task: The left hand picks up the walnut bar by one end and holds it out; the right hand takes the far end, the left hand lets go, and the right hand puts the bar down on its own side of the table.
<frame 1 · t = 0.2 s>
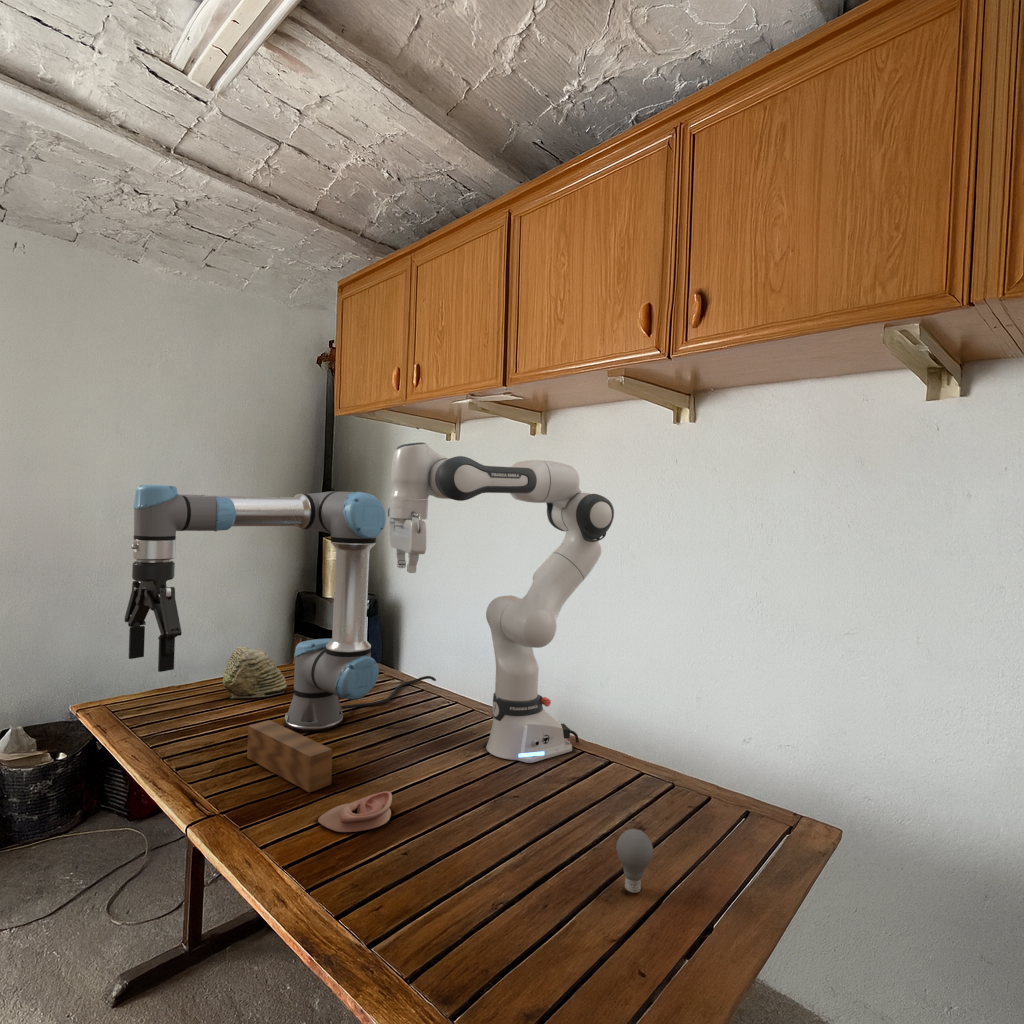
left hand: (150, 664, 130), 28 cm above the table, tool pointing down, fingers open, 13 cm apart
right hand: (406, 570, 149), 47 cm above the table, tool pointing down, fingers open, 8 cm apart
bar: (287, 770, 146), on the table
light bulb: (632, 891, 106), on the table
anatomical model: (355, 819, 125), on the table
fossil: (254, 694, 198), on the table
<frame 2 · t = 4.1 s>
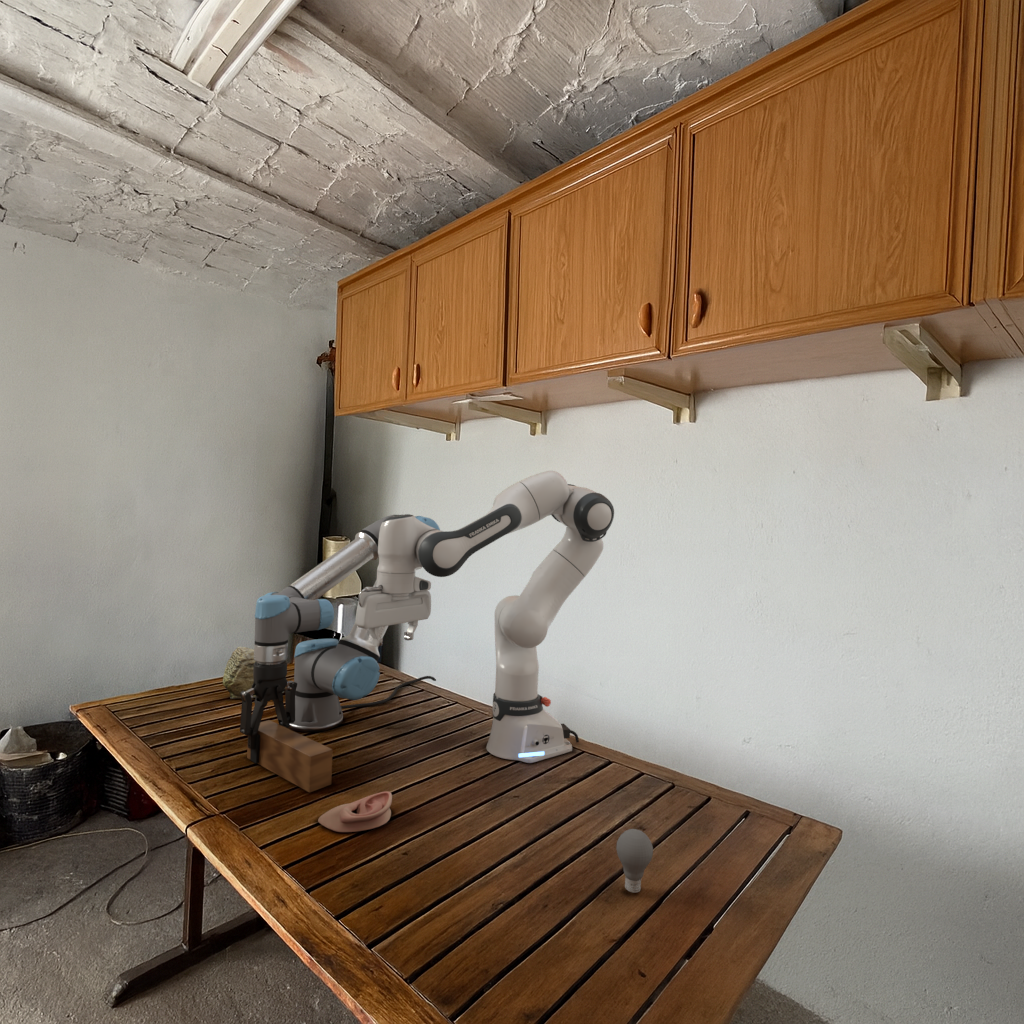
left hand: (267, 757, 151), 1 cm above the table, tool pointing down, fingers closed on bar, 5 cm apart
right hand: (393, 642, 148), 30 cm above the table, tool pointing down, fingers open, 8 cm apart
bar: (287, 770, 146), on the table, touching left hand
everything else where it was.
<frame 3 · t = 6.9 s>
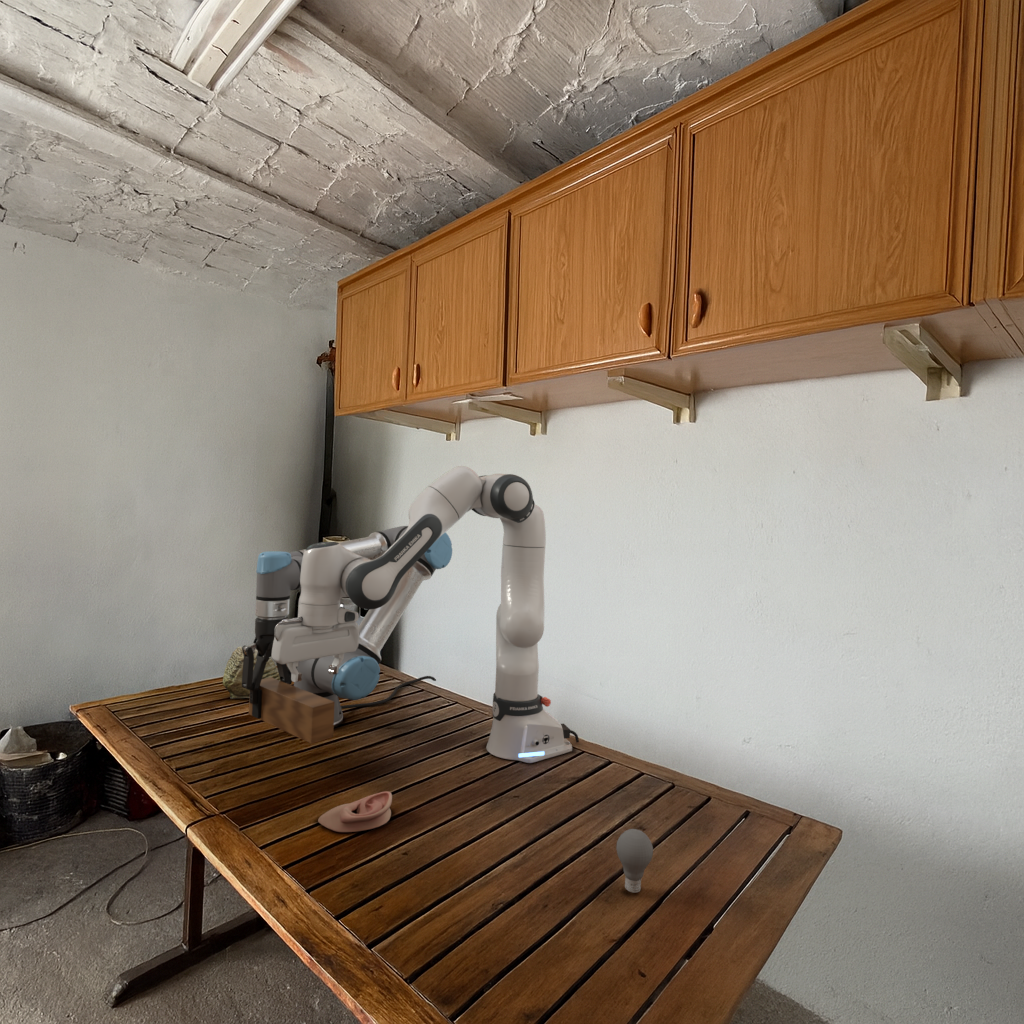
left hand: (268, 713, 151), 11 cm above the table, tool pointing down, fingers closed on bar, 5 cm apart
right hand: (315, 677, 140), 23 cm above the table, tool pointing down, fingers open, 8 cm apart
bar: (289, 725, 145), point 11 cm above the table, touching left hand
everything else where it was.
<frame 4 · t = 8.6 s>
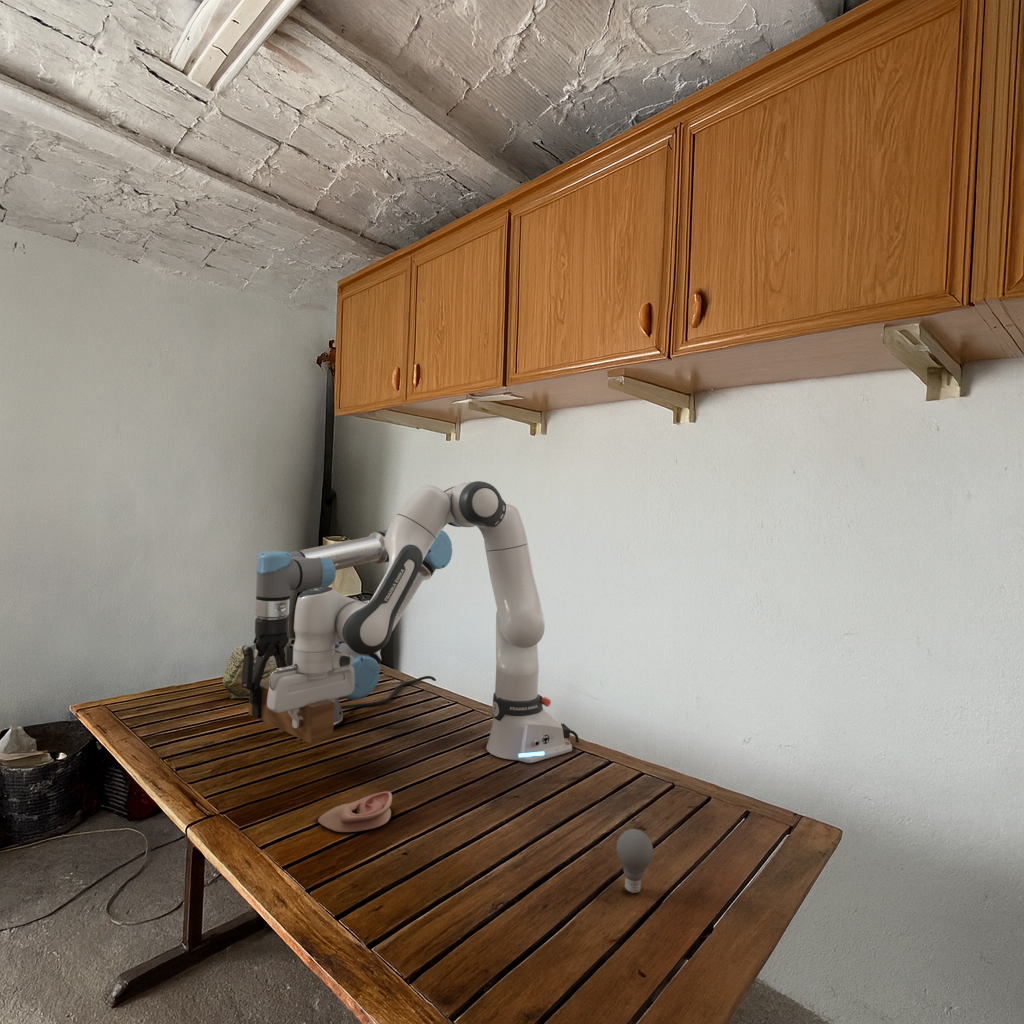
left hand: (268, 713, 151), 11 cm above the table, tool pointing down, fingers closed on bar, 5 cm apart
right hand: (311, 723, 140), 13 cm above the table, tool pointing down, fingers closed on bar, 5 cm apart
bar: (289, 725, 145), point 11 cm above the table, touching left hand, right hand
everything else where it was.
when the left hand's fingers open (11 cm above the table, at t = 9.7 s): bar stays where it is, held by the right hand.
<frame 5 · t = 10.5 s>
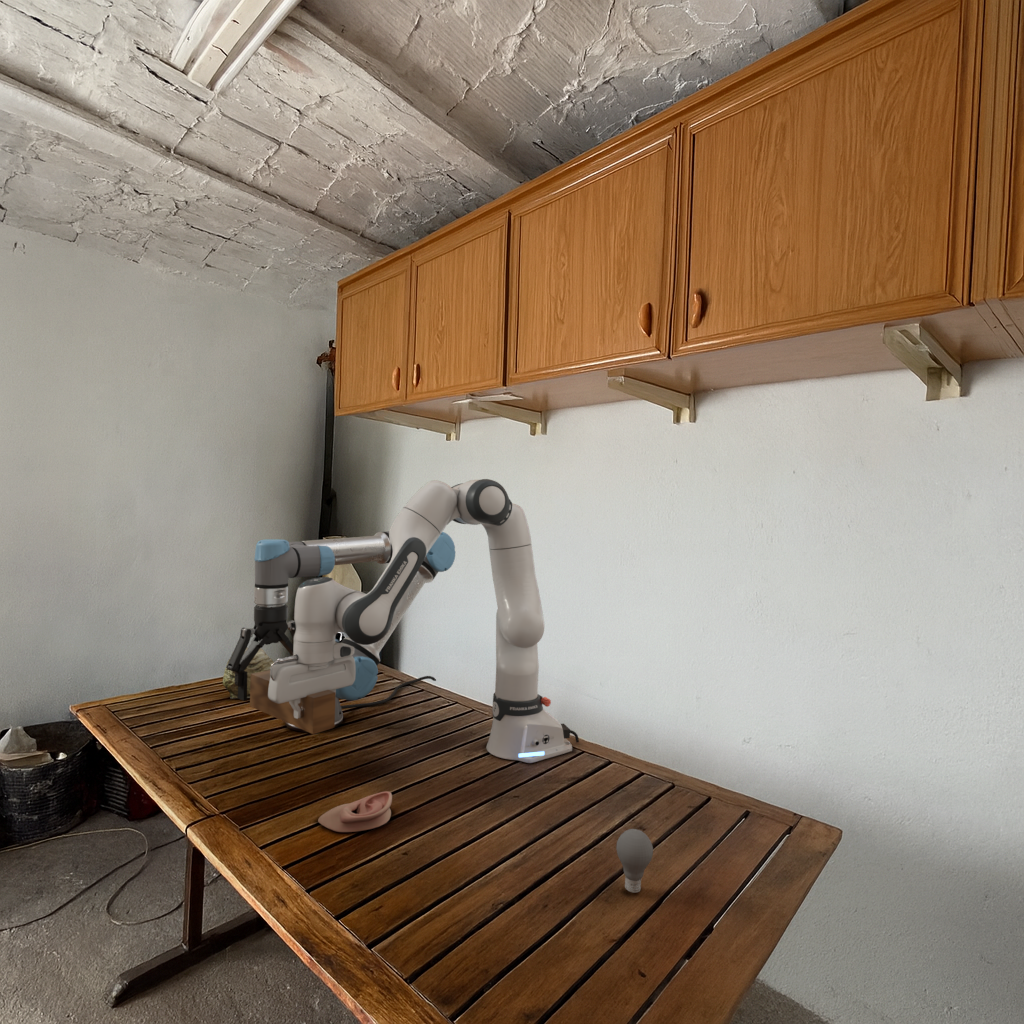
left hand: (269, 692, 152), 16 cm above the table, tool pointing down, fingers open, 13 cm apart
right hand: (312, 713, 140), 15 cm above the table, tool pointing down, fingers closed on bar, 5 cm apart
bar: (290, 716, 145), point 13 cm above the table, touching right hand
everything else where it was.
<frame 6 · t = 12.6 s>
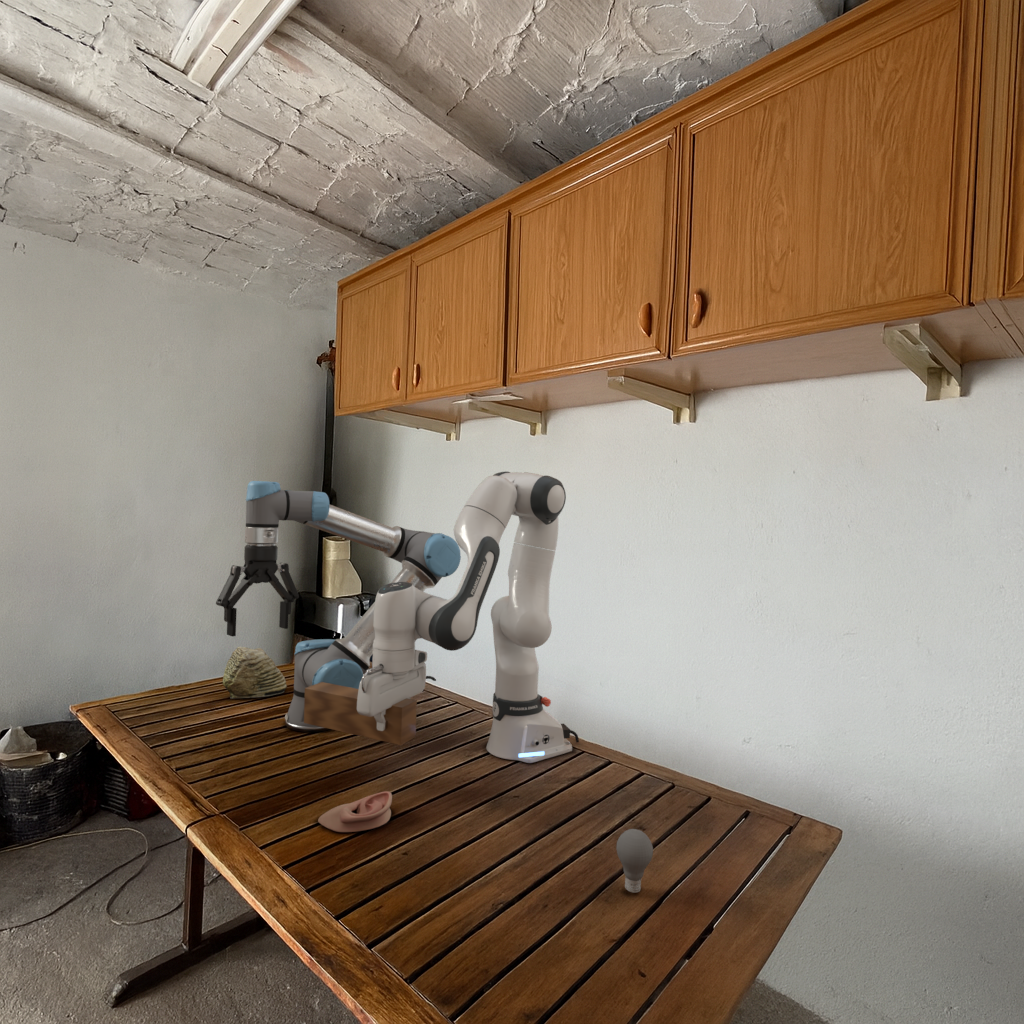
left hand: (258, 631, 154), 30 cm above the table, tool pointing down, fingers open, 13 cm apart
right hand: (392, 724, 134), 16 cm above the table, tool pointing down, fingers closed on bar, 5 cm apart
bar: (358, 729, 138), point 13 cm above the table, touching right hand
everything else where it was.
when the right hand's fingers open (4 cm above the table, at t = 16.9 s): bar stays where it is, resting on anatomical model.
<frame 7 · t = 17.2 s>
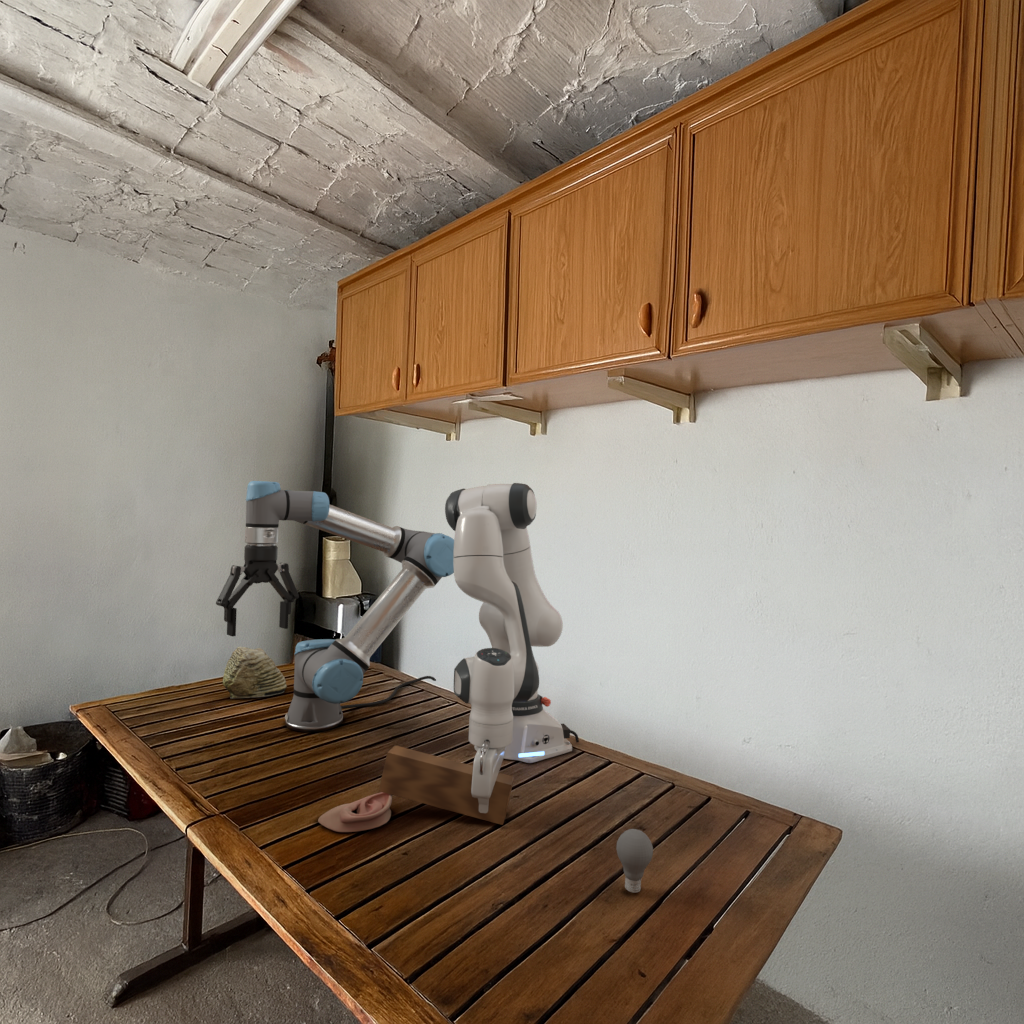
left hand: (258, 631, 154), 30 cm above the table, tool pointing down, fingers open, 13 cm apart
right hand: (487, 800, 127), 4 cm above the table, tool pointing down, fingers open, 8 cm apart
bar: (442, 803, 128), point 2 cm above the table, tilted 11°, touching anatomical model
anatomical model: (355, 819, 125), on the table, touching bar
everything else where it was.
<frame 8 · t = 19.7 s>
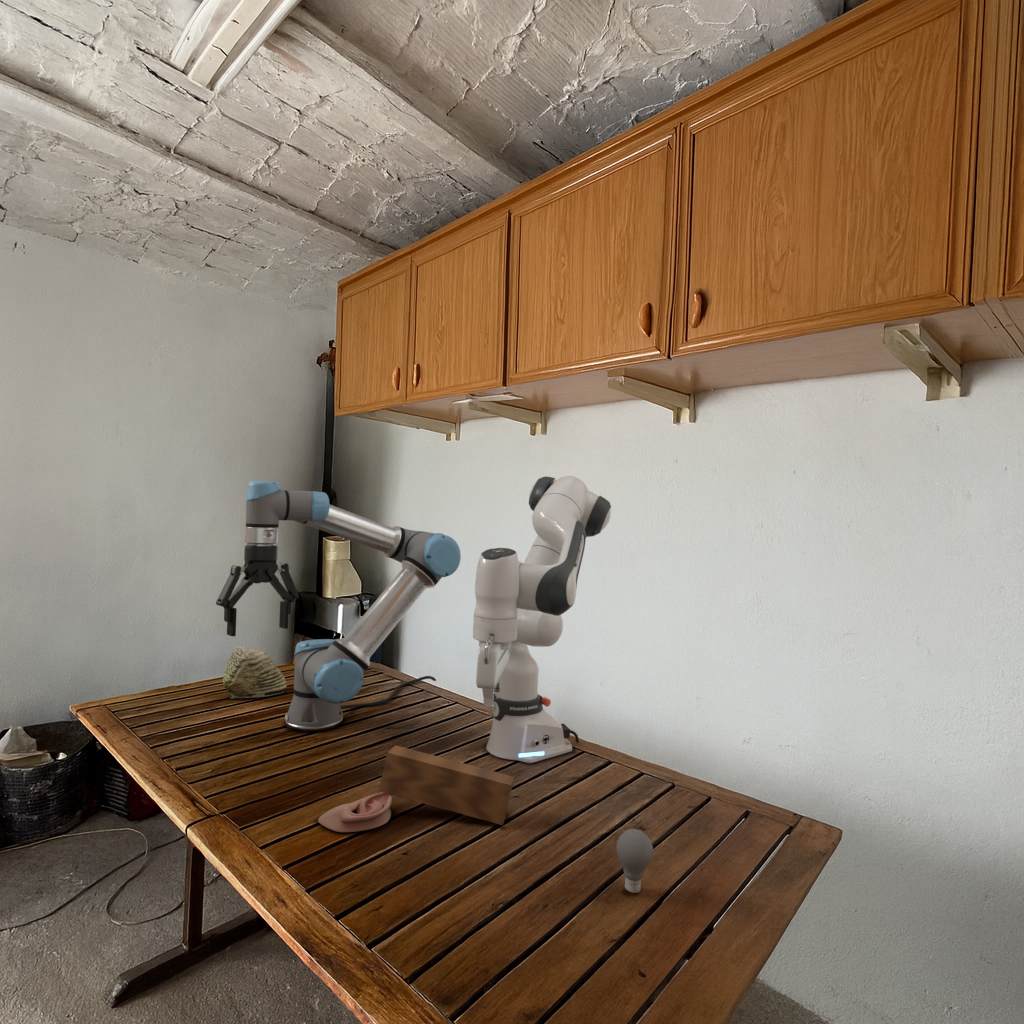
left hand: (258, 631, 154), 30 cm above the table, tool pointing down, fingers open, 13 cm apart
right hand: (492, 698, 127), 25 cm above the table, tool pointing down, fingers open, 8 cm apart
nothing on the table moved.
at the end: bar inside the target area (9.2 cm from its centre), point 2.3 cm above the table; the left hand is holding nothing; the right hand is holding nothing; bar at rest at the end (0.0 cm/s) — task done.
